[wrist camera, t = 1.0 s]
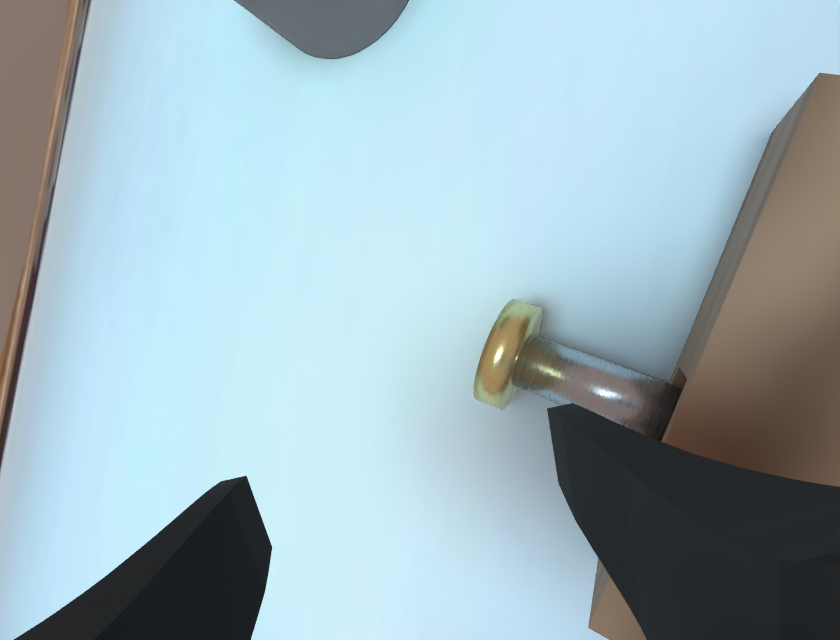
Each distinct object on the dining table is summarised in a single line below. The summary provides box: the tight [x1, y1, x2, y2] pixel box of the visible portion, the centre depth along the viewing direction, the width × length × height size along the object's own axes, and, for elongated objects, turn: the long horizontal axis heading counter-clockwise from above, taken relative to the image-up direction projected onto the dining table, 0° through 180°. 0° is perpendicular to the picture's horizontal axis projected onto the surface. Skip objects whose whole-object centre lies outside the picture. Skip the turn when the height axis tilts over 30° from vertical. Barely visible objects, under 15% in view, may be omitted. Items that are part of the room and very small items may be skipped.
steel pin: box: [474, 299, 683, 441], centre depth 20 cm, size 9×5×5 cm, turn 71°
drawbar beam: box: [588, 73, 840, 640], centre depth 18 cm, size 7×20×6 cm, turn 161°
